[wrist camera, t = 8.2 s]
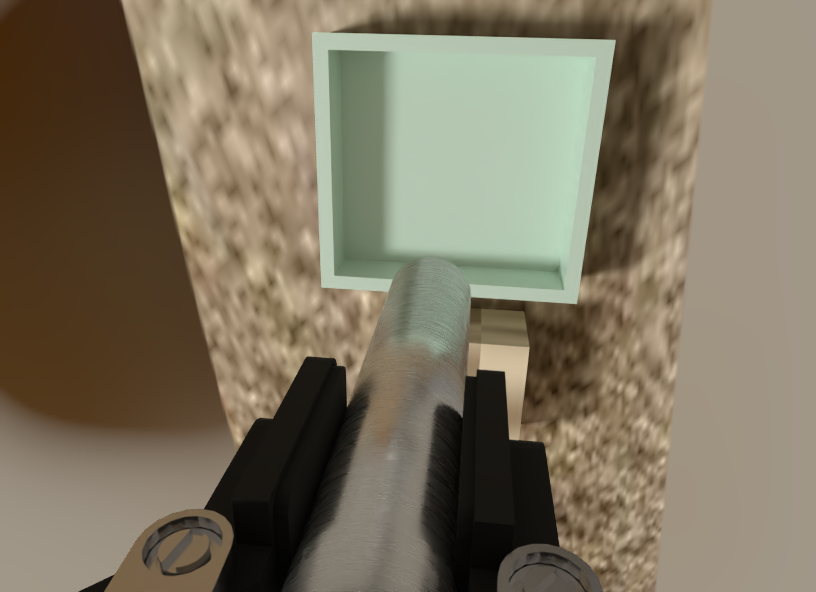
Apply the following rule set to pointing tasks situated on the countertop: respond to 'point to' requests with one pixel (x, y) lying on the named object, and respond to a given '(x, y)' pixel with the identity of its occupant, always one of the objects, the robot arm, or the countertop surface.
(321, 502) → the steel pin
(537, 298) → the tray
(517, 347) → the hitch block
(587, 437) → the countertop surface
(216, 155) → the countertop surface
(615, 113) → the countertop surface
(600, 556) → the countertop surface
